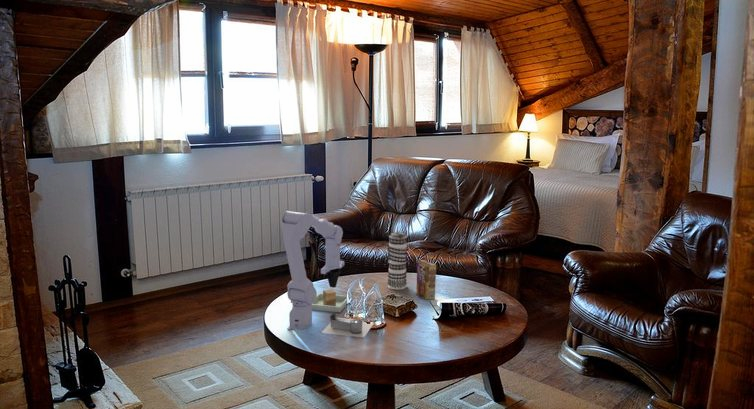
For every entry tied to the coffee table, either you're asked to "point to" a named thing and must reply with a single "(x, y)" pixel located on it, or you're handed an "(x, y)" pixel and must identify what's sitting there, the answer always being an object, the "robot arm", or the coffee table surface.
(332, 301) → the block
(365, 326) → the board
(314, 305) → the tray
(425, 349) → the coffee table surface
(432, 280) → the candy box
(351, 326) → the crank
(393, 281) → the patterned cylinder
